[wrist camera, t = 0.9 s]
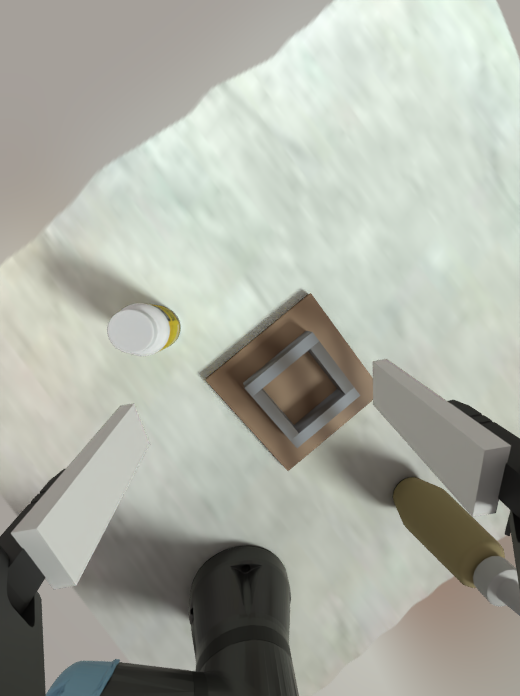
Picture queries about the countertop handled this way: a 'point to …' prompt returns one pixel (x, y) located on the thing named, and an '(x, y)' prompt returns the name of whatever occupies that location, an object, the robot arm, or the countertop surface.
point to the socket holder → (295, 382)
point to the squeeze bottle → (457, 541)
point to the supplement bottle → (143, 329)
